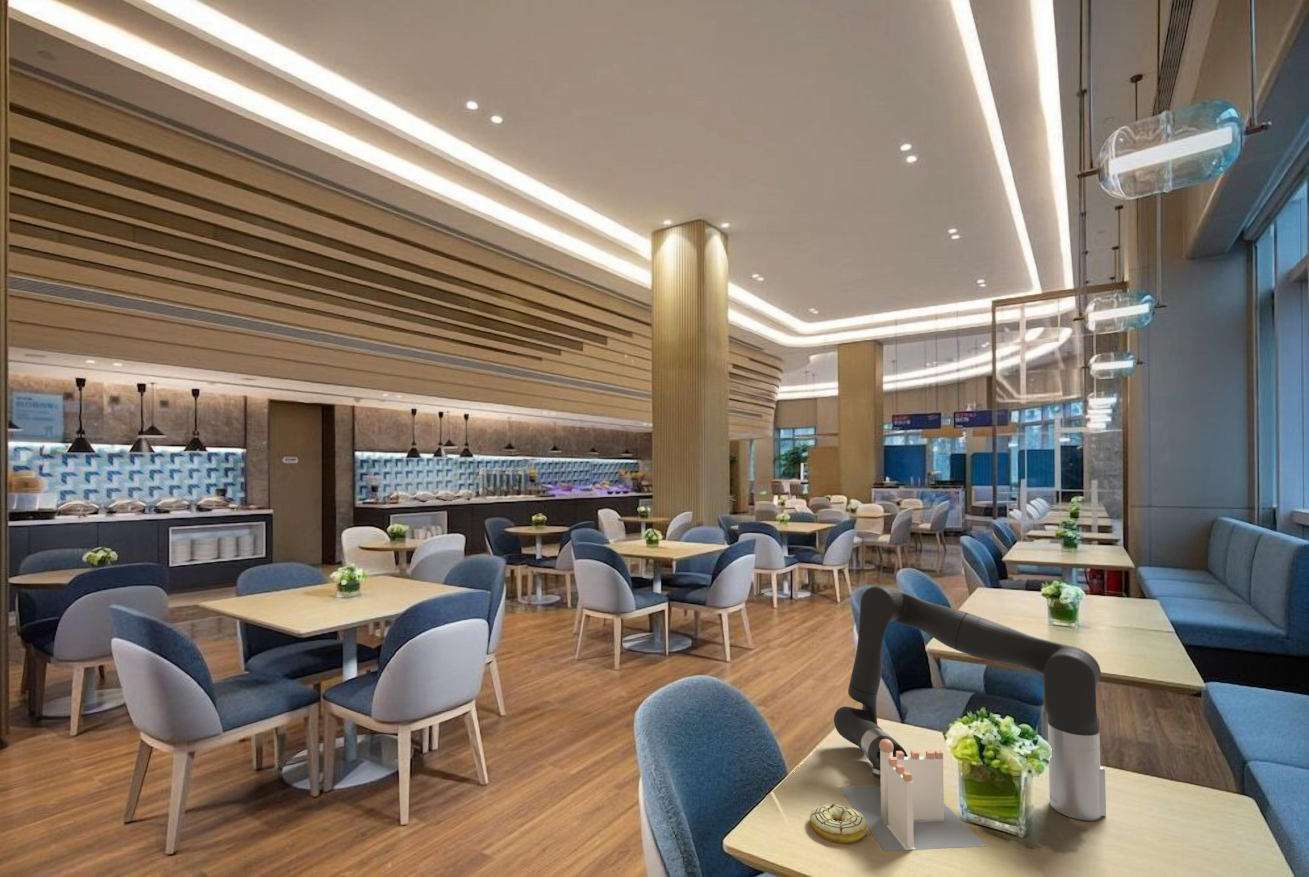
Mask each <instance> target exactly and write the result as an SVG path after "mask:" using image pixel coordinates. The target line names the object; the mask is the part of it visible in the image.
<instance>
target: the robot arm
mask: <svg viewBox="0 0 1309 877" xmlns="http://www.w3.org/2000/svg"><path fill="white" fill-rule="evenodd" d="M890 622H891V623H896V624H897V623H898V624H901V625H904V626H909V627H912V628H914V629H918V630H920V631H922V632H923V633H926V634H928V635H929V636H931V638H933V639H935V640H937V641H938V642H939V643H941V644H943V645H944V646H946V647H949V648H950V649H953V650H954V651H958V652H961V653H963V654H965V655H968V656H970V657H972V658H973V657H974V658H976V659H981V660H983V661H984V660H985V661H990V662H996V663H1002V664H1009V665H1015V666H1021V667H1022V668H1023V667H1024V668H1026V669H1029V670H1032V671H1035V672H1037V673H1040V674H1042V675H1043V686H1044V687H1043V689H1044V708H1045V711H1046V713H1047V733H1048V734H1047V736H1048V737H1047V738H1048V744H1049V745H1050V746H1051V748H1052V757H1051V758H1050V761H1049V760H1048V782H1049V783H1048V784H1049V785H1048V787H1049V788H1048V791H1049V794H1048V795H1049V805H1050V807H1051V808H1052V809H1053V810H1054V811H1056V812H1057V813H1060V814H1062V815H1064V816H1065V817H1068V818H1072V819H1076V820H1080V821H1081V820H1082V821H1089V822H1090V821H1097V820H1099V819H1101V818H1102V817H1106V816H1107V797H1106V796H1107V795H1106V770H1105V768H1104V767H1102V766H1101V747H1100V746H1101V745H1100V743H1101V742H1100V738H1101V737H1100V719H1099V716H1098V714H1097V685H1098V683H1099V681H1100V678H1101V674H1102V673H1101V671H1102V670H1101V667H1100V665H1099V662H1098V661H1097V660H1096V658H1094V657H1093V656H1092V655H1091V654H1090V653H1088V652H1087V651H1086V650H1084V649H1081V648H1080V647H1076V646H1073V645H1067V644H1063V643H1059V642H1056V641H1051V640H1048V639H1044V638H1040V637H1035V636H1033V635H1032V636H1031V635H1029V634H1026V633H1023V632H1021V631H1019V630H1016V629H1014V628H1011V627H1009V626H1005V625H1003V624H1000V623H998V622H995V621H992V620H989V619H986V618H985V617H981V616H978V615H975V614H972V613H970V612H966V611H962V610H960V609H955V608H952V607H948V606H944V605H941V604H937V603H933V602H930V601H926V600H924V599H921V598H919V597H917V596H915V595H912V594H910V593H907V592H906V591H903V590H901V589H900V588H897V587H894V586H893V585H889V584H888V585H887V584H885V585H884V584H882V585H874V586H871V587H869V588H867V589H866V590H864V592H863V593H862V596H861V599H860V609H859V626H858V636H857V637H858V638H857V645H856V653H855V659H854V663H853V667H852V671H851V676H850V681H849V685H848V689H847V693H848V696H849V698H851V699H852V700H854V701H856V702H858V703H859V704H862V709H861V708H855V707H851V706H841V707H839V708H838V709H837V710H836V711H835V713H834V715H833V724H834V727H835V729H836V732H837V733H838V734H839V735H840V736H841V737H842V738H843V739H845V740H847V741H849V743H851V744H853V745H855V746H857V747H858V748H859V749H860V750H861V751H862V752H863V754H864V755H865V757H866V759H867V760H868V761H869V762H870V763H871V764H872V765H871V766H872V768H871V769H872V776H873V778H874V777H875V778H877V779H880V780H881V774H880V748H879V743H880V741H881V740H883V739H888V740H890V741H891V742H892V743H893V746H894V749H893V757H896V751H902V752H903V753H904V757H909V756H908V754H907V752H906V750H905V749H904V748H903V747H902V745H900V744H899V742H897V740H896V739H894V738H893V737H892V736H891V735H890V734H889V733H887V732H886V731H884V730H883V729H882V728H881V727H880V726H879V725H878V715H877V714H878V712H877V711H878V710H877V699H878V698H877V696H878V692H879V688H880V683H881V679H882V672H883V659H882V658H883V654H882V653H883V652H882V651H883V650H882V648H883V641H884V637H885V634H886V630H887V629H888V625H889V623H890ZM1049 745H1048V746H1049Z"/></svg>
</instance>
